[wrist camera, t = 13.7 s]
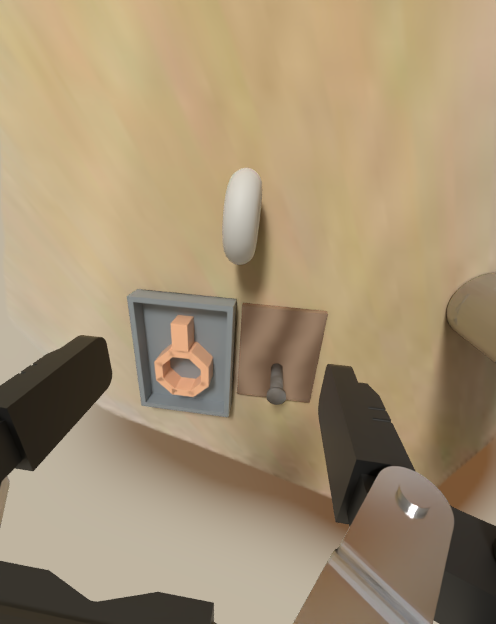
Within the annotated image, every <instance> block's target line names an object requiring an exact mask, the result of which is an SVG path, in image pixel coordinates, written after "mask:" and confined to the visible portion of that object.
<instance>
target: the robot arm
mask: <svg viewBox="0 0 496 624" xmlns="http://www.w3.org/2000/svg"><path fill="white" fill-rule="evenodd" d="M447 319H448V323H449V324H450V326H451V328H452V329H454V330H455V331H456V332H457V333H458V334H459V335H461V336H462V337H463V338H465V339H466V340H467V341H468V342H470V343H471V344H472V345H473V346H474V347H476V348H477V349H478V350H480V351H481V352H482V353H483V354H485V355H486V356H487V357H489V358H490V359H491V360H492V361H494V362H495V363H496V273H488V274H485V275H481V276H478V277H476V278H474V279H472V280H470V281H468V282H467V283H465V284H464V285H463V286H462V287H460V288H459V289H458V290H457V291H456V293H455V294H454V295H453V296H452V298H451V300H450V302H449V304H448V308H447ZM111 379H112V369H111V364H110V359H109V353H108V348H107V343H106V341H105V339H104V338H102V337H94V336H85V335H80V336H78V337H76V338H75V339H73V340H72V341H70V342H69V343H67V344H66V345H65V346H63V347H62V348H60V349H58V350H55V351H53V352H51V353H48V354H46V355H45V356H43V357H42V358H40V359H39V360H37V361H36V362H34V363H33V365H32V366H31V365H30V366H29V367H27V368H26V369H24V370H23V371H21V374H17V375H15V376H14V377H12V378H11V379H9V380H8V381H6V382H5V383H4V384H2V385H1V386H0V526H1V522H2V517H3V512H4V508H5V502H6V498H7V493H8V489H9V479H8V477H7V475H8V474H9V473H10V472H11V471H12V470H13V469H14V468H16V469H23V470H29V471H34V470H35V469H36V468H37V466H38V465H39V464H40V463H41V462H42V461H43V460H44V459H45V457H46V456H47V455H48V454H49V453H50V452H51V451H52V450H53V449H54V448H55V447H56V445H57V444H58V443H59V442H60V441H61V440H62V439H63V437H64V436H65V435H66V434H67V433H68V432H69V431H70V429H72V427H73V426H74V425H75V424H76V423H77V422H78V421H79V420H80V419H81V418H82V416H83V415H84V414H85V413H86V412H87V411H88V410H89V409H90V408H91V406H92V405H93V404H94V403H95V402H96V401H97V400H98V399H99V398H100V396H101V395H102V394H103V393H104V392H105V391H106V390H107V388H108V387H109V385H110V383H111ZM318 415H319V422H320V428H321V435H322V441H323V447H324V453H325V459H326V465H327V472H328V478H329V484H330V490H331V496H332V502H333V509H334V515H335V520H336V522H338V523H344V524H349V526H350V528H349V530H348V531H347V533H346V535H345V537H344V539H343V541H342V542H341V544H340V546H339V547H338V549H335V551H334V552H333V553H332V555H331V556H330V558H329V560H328V561H327V563H326V565H325V567H324V568H323V570H322V572H321V574H320V576H319V578H318V579H317V581H316V583H315V585H314V587H313V589H312V590H311V592H310V594H309V596H308V597H307V599H306V601H305V603H304V605H303V606H302V608H301V610H300V612H299V614H298V616H297V617H296V619H295V621H294V623H293V624H433V620H434V621H436V622H438V623H439V624H496V526H494V525H492V524H489V523H487V522H485V521H483V520H480V519H478V518H476V517H473V516H471V515H469V514H466V513H464V512H462V511H460V510H458V509H456V508H454V507H452V506H450V505H449V503H448V501H447V500H446V498H445V497H444V495H443V494H442V493H441V491H440V490H439V489H438V488H437V487H436V486H435V485H434V484H433V483H432V482H430V481H429V480H428V479H427V478H425V477H424V476H422V475H421V474H419V473H417V472H416V471H415V469H414V467H413V465H412V463H411V461H410V459H409V457H408V455H407V453H406V451H405V449H404V446H403V444H402V442H401V440H400V438H399V436H398V434H397V432H396V430H395V428H394V426H393V424H392V423H391V419H390V417H389V415H388V413H387V411H385V407H384V405H383V403H382V401H381V398H380V396H379V395H378V394H377V393H376V392H375V391H374V390H373V389H372V388H371V387H370V386H369V385H368V384H366V383H358V381H357V379H356V376H355V374H354V371H353V369H352V367H351V366H342V365H334V364H328V365H327V367H326V370H325V375H324V379H323V384H322V389H321V393H320V398H319V406H318ZM0 624H216V623H215V622H214V603H212V602H207V601H202V600H197V599H192V598H186V597H181V596H176V595H171V594H166V593H161V592H155V593H148V594H143V595H137V596H130V597H124V598H118V599H112V600H106V601H99V602H94V601H90V600H89V599H87V598H86V597H84V596H83V595H82V594H80V593H79V592H77V591H76V590H75V589H73V588H72V587H71V586H69V585H68V584H67V583H65V582H64V581H63V580H61V579H60V578H59V577H57V576H56V575H54V574H53V573H52V572H50V571H49V570H44V569H39V568H33V567H28V566H23V565H18V564H13V563H8V562H3V561H0Z"/></svg>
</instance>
